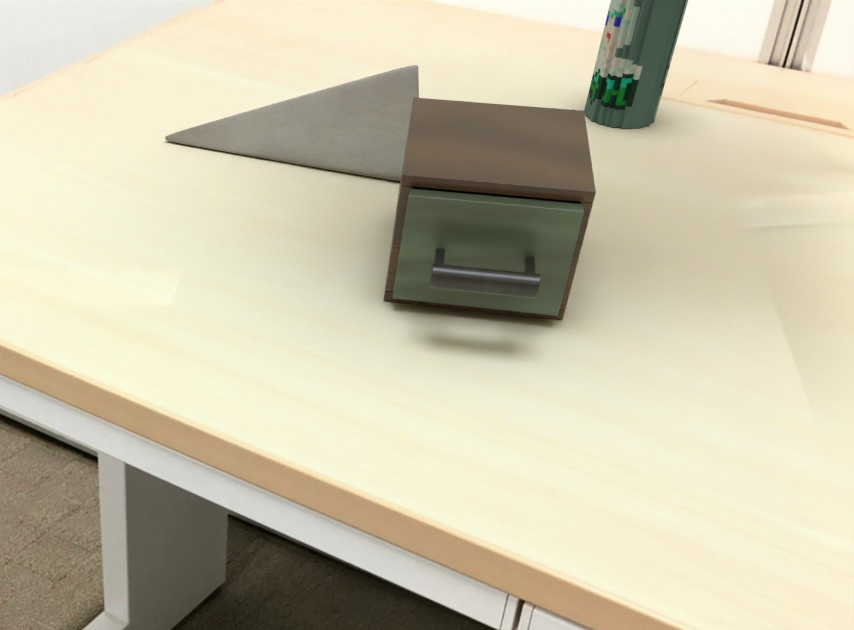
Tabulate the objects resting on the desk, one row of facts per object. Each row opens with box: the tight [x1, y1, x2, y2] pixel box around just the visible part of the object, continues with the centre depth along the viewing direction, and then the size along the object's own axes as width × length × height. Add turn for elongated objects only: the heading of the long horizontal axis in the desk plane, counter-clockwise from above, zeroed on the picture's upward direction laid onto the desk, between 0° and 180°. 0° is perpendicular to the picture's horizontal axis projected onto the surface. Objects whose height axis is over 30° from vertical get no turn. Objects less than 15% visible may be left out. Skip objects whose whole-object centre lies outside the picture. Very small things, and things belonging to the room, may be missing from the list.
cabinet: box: [383, 97, 597, 320], centre depth 92 cm, size 15×13×10 cm
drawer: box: [393, 187, 584, 316], centre depth 89 cm, size 18×11×8 cm, turn 167°
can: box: [583, 0, 689, 130], centre depth 112 cm, size 6×6×15 cm
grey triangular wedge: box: [164, 64, 420, 182], centre depth 109 cm, size 10×8×22 cm
